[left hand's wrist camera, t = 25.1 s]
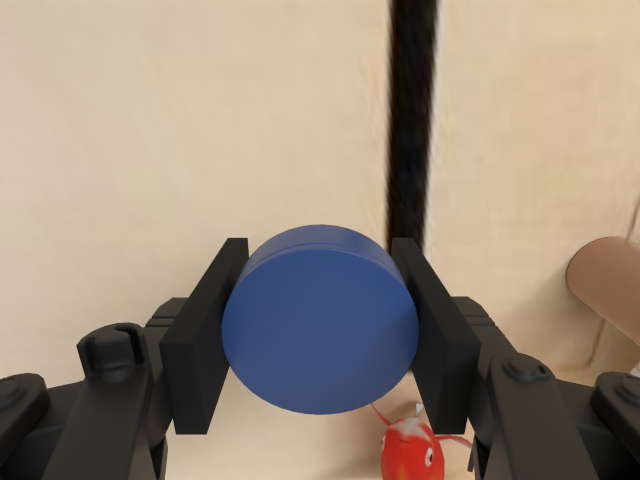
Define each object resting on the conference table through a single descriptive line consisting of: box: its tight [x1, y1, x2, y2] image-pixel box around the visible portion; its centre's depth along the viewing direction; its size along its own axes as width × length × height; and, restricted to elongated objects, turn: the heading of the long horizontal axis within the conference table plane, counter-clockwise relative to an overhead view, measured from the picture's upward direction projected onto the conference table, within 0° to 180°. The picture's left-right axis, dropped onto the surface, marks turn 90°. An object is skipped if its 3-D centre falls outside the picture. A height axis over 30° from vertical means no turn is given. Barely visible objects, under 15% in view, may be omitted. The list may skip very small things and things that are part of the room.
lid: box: [221, 225, 419, 415], centre depth 11 cm, size 6×6×2 cm
